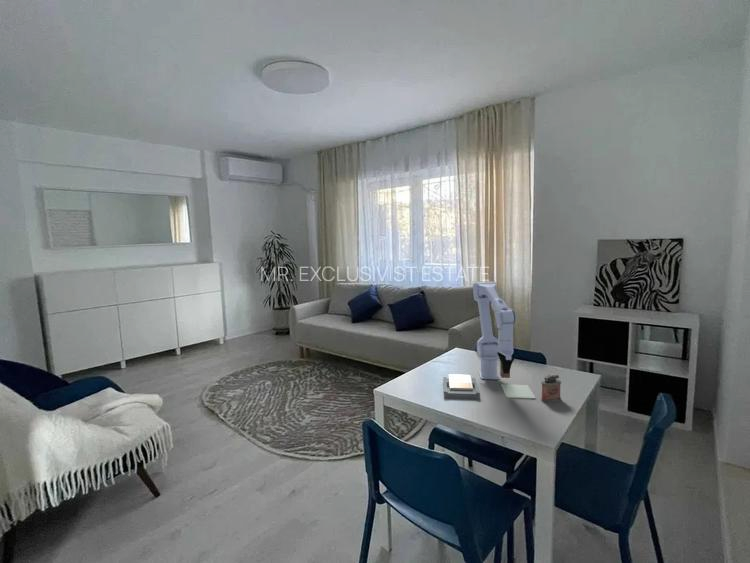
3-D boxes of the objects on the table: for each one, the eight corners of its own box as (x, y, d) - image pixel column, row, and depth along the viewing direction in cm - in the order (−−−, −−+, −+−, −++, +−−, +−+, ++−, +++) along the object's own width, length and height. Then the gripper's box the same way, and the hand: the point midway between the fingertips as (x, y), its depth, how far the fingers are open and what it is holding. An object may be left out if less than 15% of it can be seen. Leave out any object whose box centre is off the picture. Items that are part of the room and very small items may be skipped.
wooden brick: (500, 374, 152) (500, 358, 152) (508, 375, 152) (508, 358, 151) (501, 377, 149) (501, 361, 148) (509, 377, 149) (509, 361, 148)
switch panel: (443, 382, 165) (443, 374, 164) (475, 383, 162) (475, 375, 162) (444, 397, 149) (444, 388, 148) (479, 398, 147) (479, 389, 146)
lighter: (545, 403, 140) (545, 378, 139) (539, 399, 144) (539, 375, 143) (562, 400, 143) (563, 375, 141) (556, 396, 146) (556, 372, 145)
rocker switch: (448, 375, 161) (448, 374, 160) (470, 376, 159) (470, 374, 159) (449, 389, 152) (449, 387, 151) (472, 390, 150) (472, 388, 150)
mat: (500, 385, 159) (500, 384, 159) (527, 386, 157) (527, 385, 157) (506, 398, 146) (506, 396, 146) (535, 399, 145) (535, 397, 144)
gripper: (492, 334, 157) (492, 365, 158) (498, 344, 142) (498, 377, 144) (510, 334, 155) (510, 365, 157) (517, 344, 141) (517, 378, 143)
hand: (505, 371), depth 150 cm, fingers closed on wooden brick, 3 cm apart
